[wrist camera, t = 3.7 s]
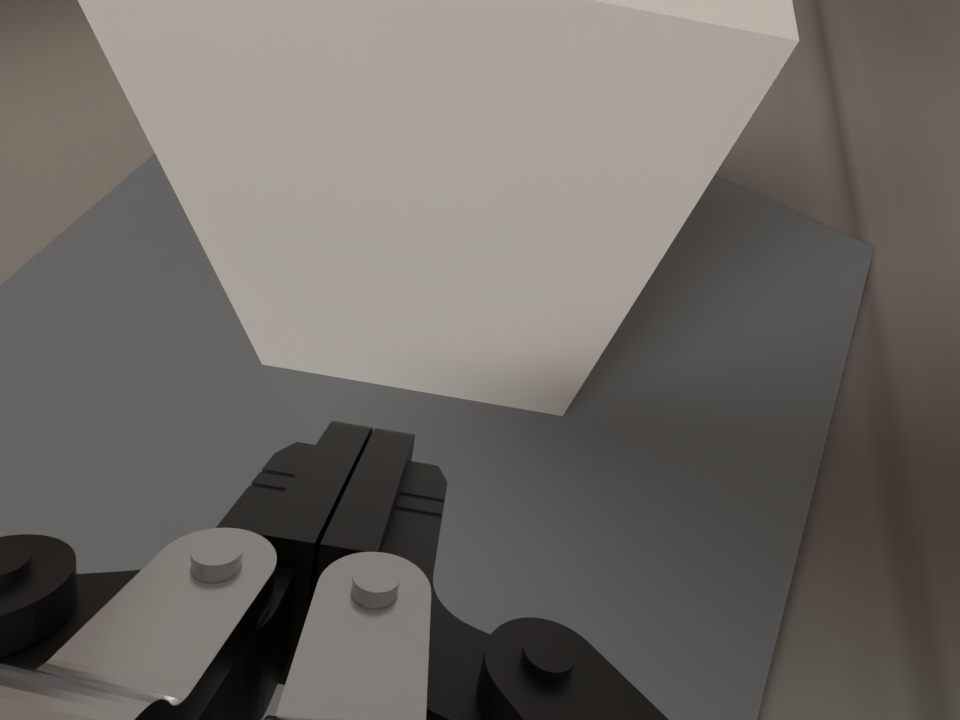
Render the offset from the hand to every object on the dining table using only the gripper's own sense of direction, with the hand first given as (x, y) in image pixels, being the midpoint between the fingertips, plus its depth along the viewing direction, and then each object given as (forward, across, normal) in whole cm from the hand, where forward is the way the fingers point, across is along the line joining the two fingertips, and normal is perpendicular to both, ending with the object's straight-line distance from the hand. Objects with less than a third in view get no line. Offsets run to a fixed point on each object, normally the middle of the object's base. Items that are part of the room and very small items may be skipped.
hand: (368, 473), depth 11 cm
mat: (+8, 0, 0) cm, 8 cm away
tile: (+7, 0, 0) cm, 7 cm away
